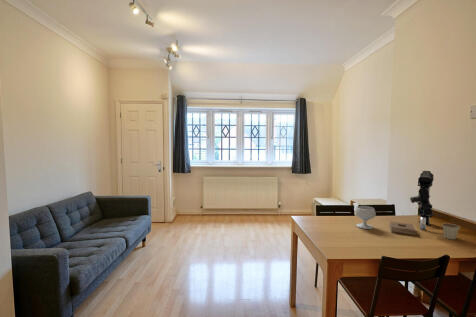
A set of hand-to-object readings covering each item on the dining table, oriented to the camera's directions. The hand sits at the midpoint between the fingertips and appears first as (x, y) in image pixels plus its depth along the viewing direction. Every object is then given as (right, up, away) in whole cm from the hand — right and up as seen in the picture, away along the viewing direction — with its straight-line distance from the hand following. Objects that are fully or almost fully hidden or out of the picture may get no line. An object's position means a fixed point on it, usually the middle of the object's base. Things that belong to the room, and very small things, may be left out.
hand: (423, 214), depth 178 cm
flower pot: (+6, -13, -15) cm, 21 cm away
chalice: (-39, -12, +8) cm, 42 cm away
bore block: (-17, -12, -2) cm, 21 cm away
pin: (0, -11, +1) cm, 11 cm away
